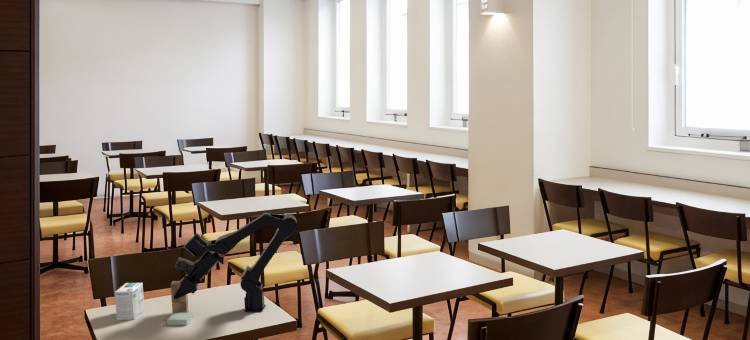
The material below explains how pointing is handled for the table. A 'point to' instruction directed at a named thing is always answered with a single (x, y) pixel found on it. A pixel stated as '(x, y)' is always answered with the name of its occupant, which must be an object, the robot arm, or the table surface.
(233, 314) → the table surface
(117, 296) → the light bulb box
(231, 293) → the table surface
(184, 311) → the pillar
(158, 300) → the table surface
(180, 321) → the plinth
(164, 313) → the table surface
